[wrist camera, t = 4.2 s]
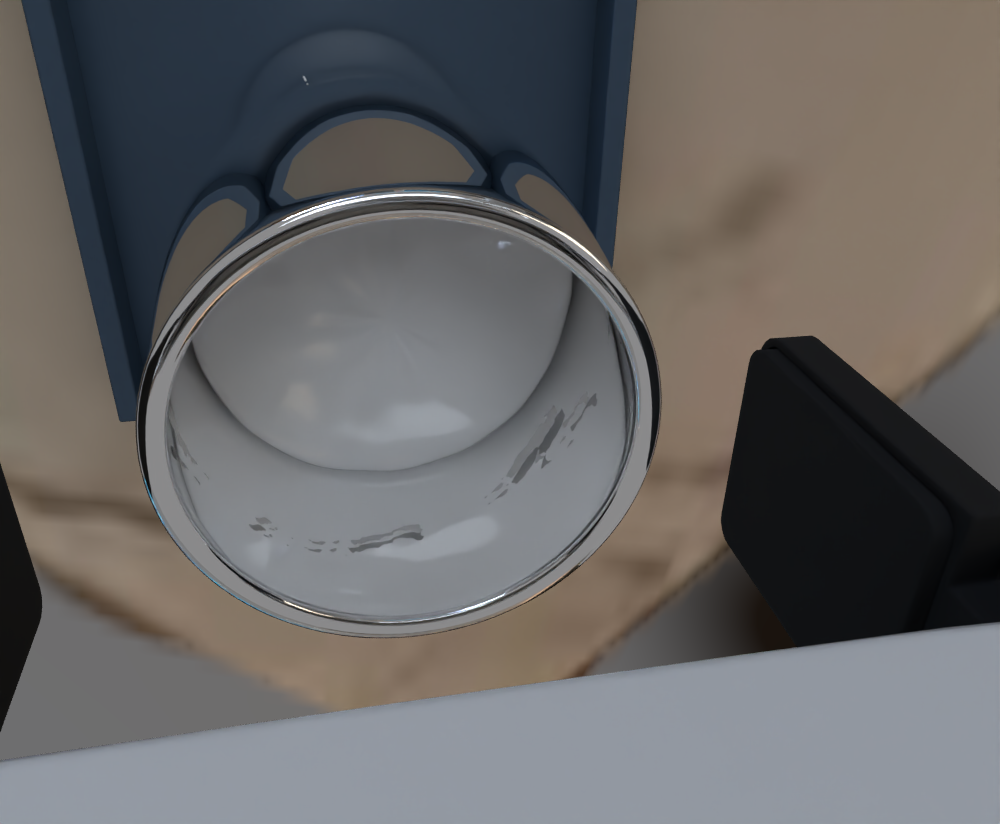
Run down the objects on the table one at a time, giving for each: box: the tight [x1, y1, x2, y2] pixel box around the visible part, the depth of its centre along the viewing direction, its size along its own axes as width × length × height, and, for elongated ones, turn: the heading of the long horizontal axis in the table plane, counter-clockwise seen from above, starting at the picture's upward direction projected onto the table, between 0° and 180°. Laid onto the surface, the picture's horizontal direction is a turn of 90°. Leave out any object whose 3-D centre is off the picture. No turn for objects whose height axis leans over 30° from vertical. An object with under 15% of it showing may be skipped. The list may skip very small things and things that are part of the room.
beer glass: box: [136, 28, 662, 638], centre depth 17 cm, size 7×7×15 cm
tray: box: [21, 0, 637, 422], centre depth 23 cm, size 14×14×2 cm
